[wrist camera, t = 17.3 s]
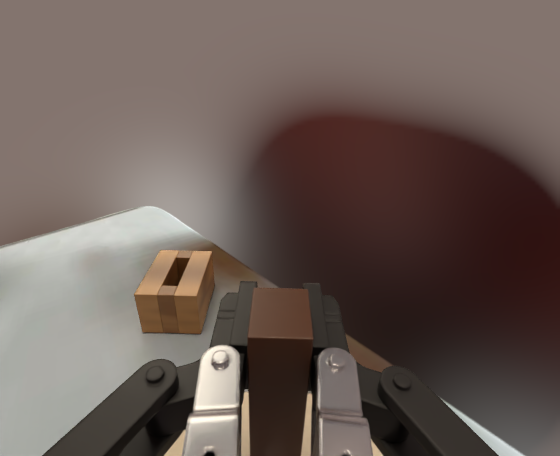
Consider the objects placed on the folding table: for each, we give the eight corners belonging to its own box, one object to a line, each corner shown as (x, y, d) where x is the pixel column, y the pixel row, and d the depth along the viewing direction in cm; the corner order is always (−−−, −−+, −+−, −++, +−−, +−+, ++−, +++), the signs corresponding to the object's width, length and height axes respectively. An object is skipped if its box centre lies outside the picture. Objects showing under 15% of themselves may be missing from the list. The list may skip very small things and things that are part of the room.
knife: (256, 496, 21) (254, 273, 13) (288, 497, 21) (306, 275, 13) (251, 587, 17) (244, 359, 9) (289, 588, 17) (316, 361, 9)
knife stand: (166, 284, 41) (160, 249, 39) (214, 285, 41) (212, 251, 39) (142, 332, 34) (133, 294, 32) (200, 334, 34) (196, 296, 32)
